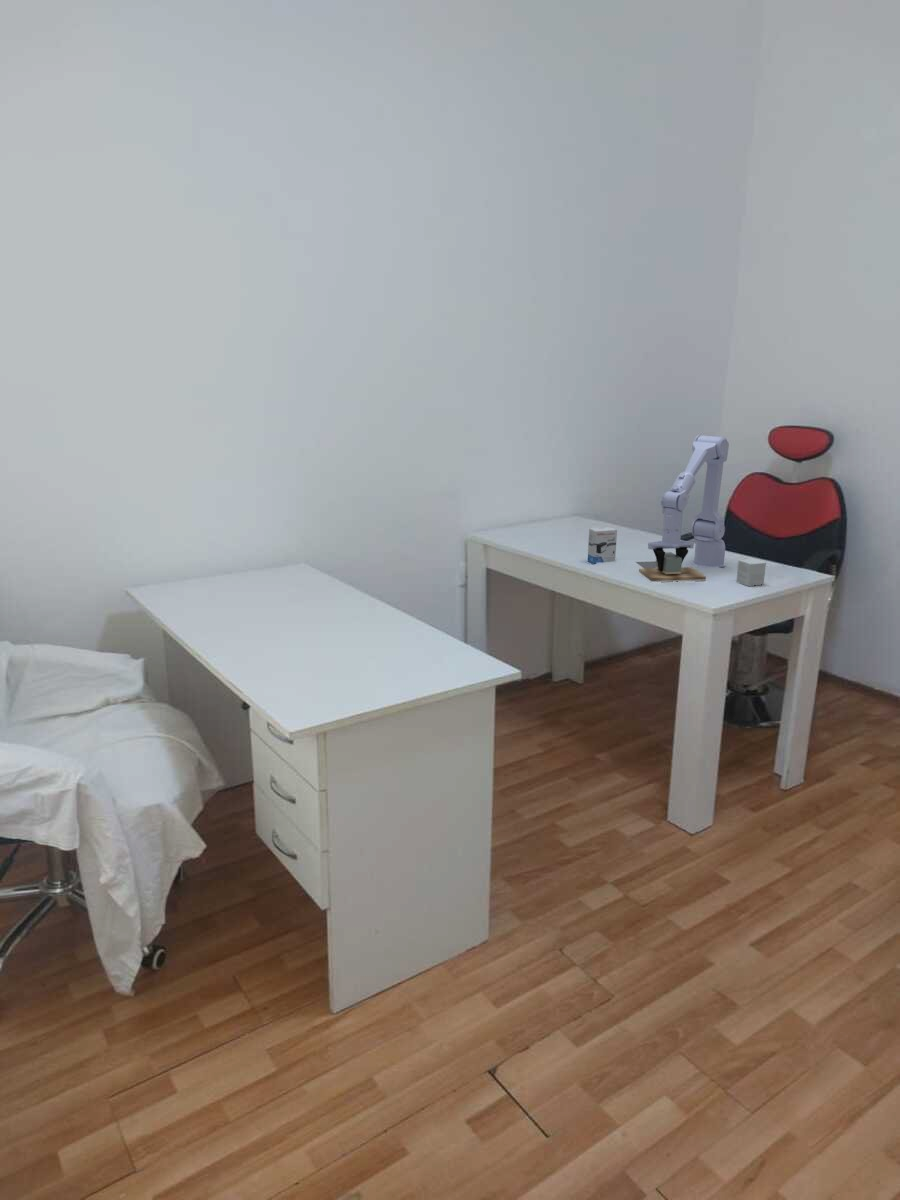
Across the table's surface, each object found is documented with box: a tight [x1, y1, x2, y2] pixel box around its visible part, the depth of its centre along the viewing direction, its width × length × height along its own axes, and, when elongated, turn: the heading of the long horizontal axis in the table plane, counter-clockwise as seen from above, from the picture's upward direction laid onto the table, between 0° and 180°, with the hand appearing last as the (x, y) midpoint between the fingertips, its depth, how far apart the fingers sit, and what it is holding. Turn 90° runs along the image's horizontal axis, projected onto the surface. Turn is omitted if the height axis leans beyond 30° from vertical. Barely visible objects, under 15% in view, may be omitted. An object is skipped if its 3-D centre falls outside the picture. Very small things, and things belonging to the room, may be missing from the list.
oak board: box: [638, 566, 707, 583], centre depth 285 cm, size 18×12×2 cm, turn 97°
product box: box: [736, 557, 767, 587], centre depth 278 cm, size 6×6×7 cm
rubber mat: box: [635, 560, 656, 569], centre depth 298 cm, size 12×11×1 cm
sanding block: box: [655, 551, 683, 574], centre depth 285 cm, size 5×9×5 cm, turn 9°
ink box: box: [587, 526, 618, 565], centre depth 303 cm, size 8×5×12 cm, turn 105°
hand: (668, 570), depth 285 cm, fingers closed on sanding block, 5 cm apart
